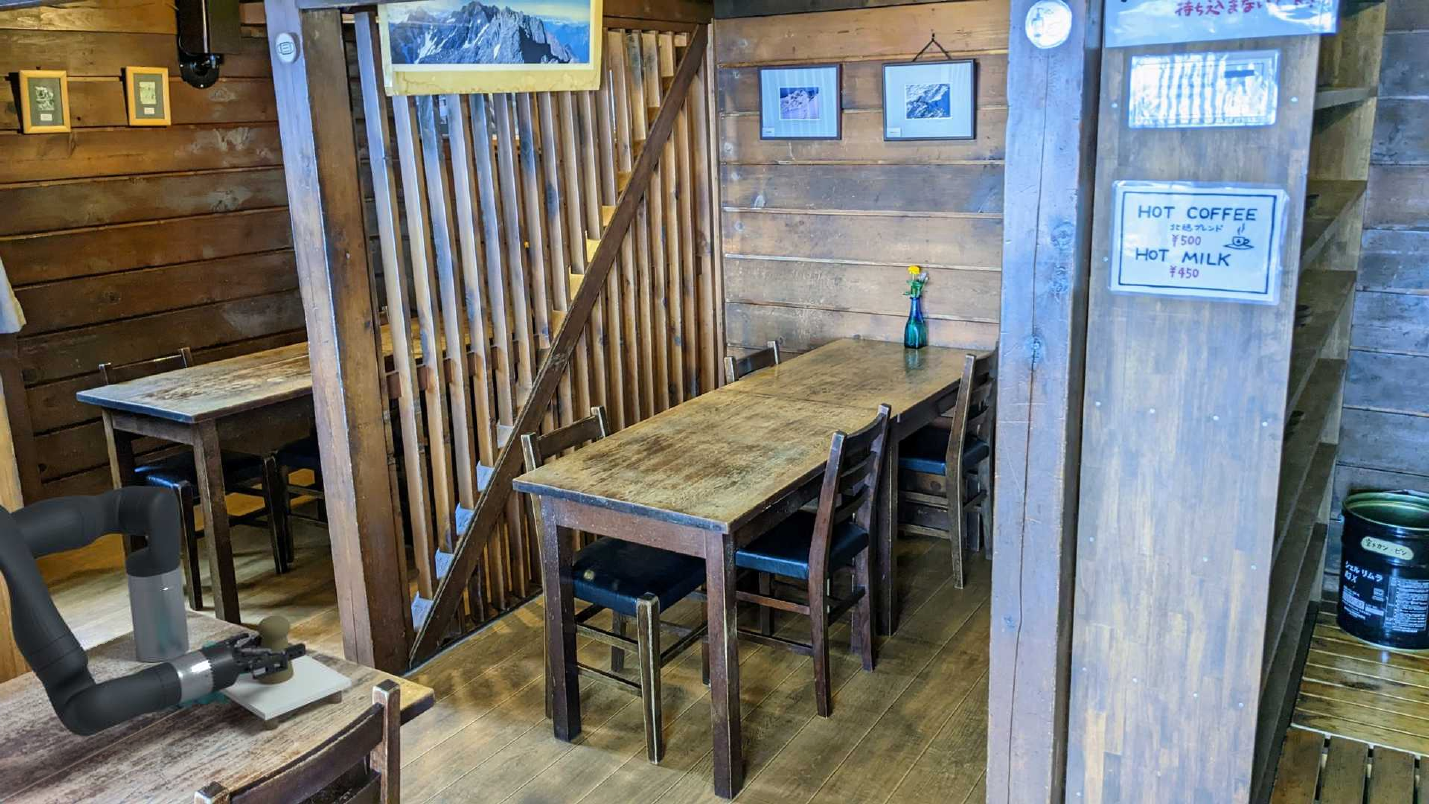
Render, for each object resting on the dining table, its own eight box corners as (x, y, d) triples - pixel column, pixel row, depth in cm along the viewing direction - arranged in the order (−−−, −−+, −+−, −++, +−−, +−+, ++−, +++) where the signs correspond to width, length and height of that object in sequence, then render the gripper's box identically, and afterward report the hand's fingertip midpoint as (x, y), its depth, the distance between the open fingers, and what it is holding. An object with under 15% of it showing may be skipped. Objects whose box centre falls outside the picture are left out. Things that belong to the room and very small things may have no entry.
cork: (256, 686, 191) (254, 629, 188) (257, 668, 197) (255, 612, 194) (294, 682, 194) (292, 625, 191) (293, 664, 199) (291, 609, 196)
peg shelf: (220, 705, 193) (218, 684, 193) (304, 673, 205) (302, 653, 204) (266, 735, 183) (264, 713, 182) (352, 700, 195) (351, 679, 194)
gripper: (218, 664, 176) (312, 632, 188) (177, 639, 185) (269, 610, 197) (222, 708, 178) (315, 673, 190) (182, 681, 187) (272, 649, 199)
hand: (291, 641), depth 193 cm, fingers open, 8 cm apart
